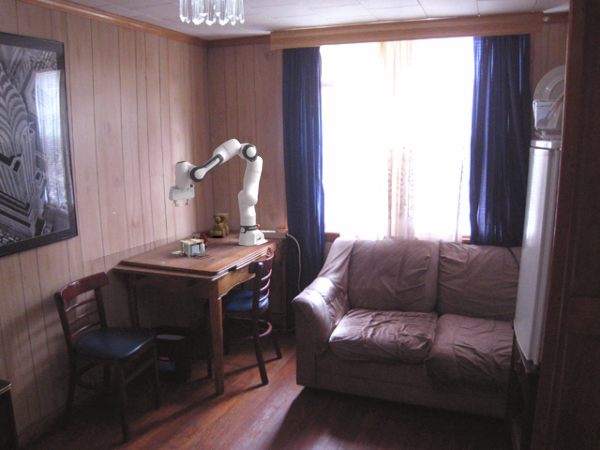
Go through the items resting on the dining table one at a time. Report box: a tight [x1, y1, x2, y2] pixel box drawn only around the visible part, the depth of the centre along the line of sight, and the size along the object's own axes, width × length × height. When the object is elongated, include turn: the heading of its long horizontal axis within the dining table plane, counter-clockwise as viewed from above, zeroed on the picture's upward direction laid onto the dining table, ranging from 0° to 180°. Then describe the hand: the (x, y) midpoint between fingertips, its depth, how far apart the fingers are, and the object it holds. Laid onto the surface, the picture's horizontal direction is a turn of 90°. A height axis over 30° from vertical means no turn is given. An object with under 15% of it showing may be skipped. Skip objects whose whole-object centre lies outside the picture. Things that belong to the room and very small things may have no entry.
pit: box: [194, 253, 213, 260], centre depth 323 cm, size 10×6×1 cm, turn 144°
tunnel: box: [179, 238, 203, 259], centre depth 328 cm, size 13×8×10 cm, turn 144°
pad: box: [171, 250, 185, 255], centre depth 336 cm, size 10×6×1 cm, turn 144°
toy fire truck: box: [191, 232, 209, 249], centre depth 350 cm, size 7×12×10 cm, turn 68°
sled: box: [179, 239, 206, 256], centre depth 328 cm, size 6×23×8 cm, turn 54°
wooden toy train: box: [209, 212, 230, 238], centre depth 390 cm, size 20×11×17 cm, turn 174°
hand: (181, 206), depth 337 cm, fingers open, 8 cm apart
